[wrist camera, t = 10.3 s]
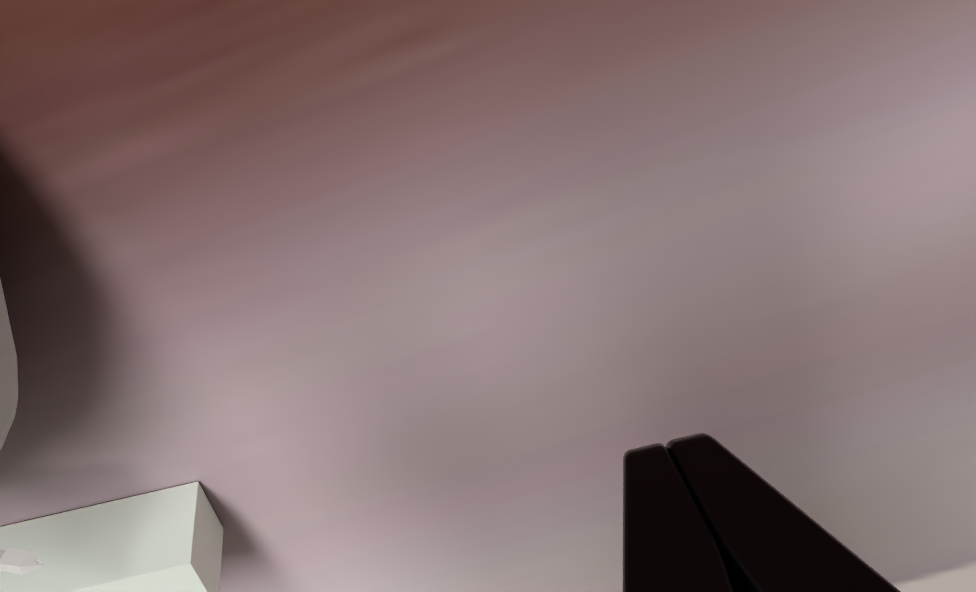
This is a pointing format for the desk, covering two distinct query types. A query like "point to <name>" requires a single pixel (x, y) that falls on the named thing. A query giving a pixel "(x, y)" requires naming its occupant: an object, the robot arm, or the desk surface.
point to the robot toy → (3, 405)
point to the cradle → (123, 546)
